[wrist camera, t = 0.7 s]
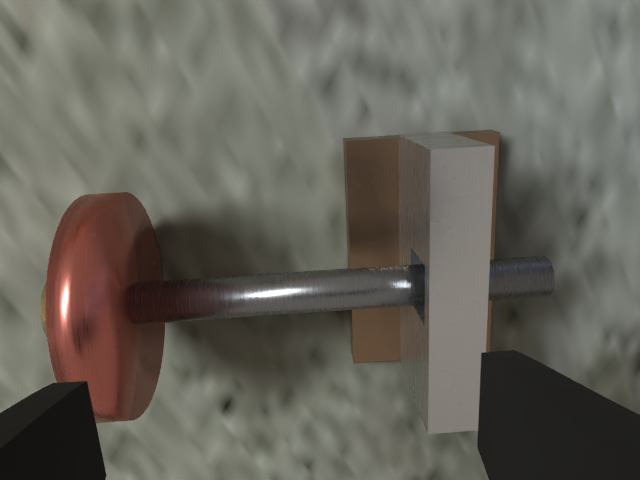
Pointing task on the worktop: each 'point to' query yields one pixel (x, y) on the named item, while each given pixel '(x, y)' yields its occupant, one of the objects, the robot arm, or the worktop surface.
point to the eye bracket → (427, 261)
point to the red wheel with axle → (192, 298)
